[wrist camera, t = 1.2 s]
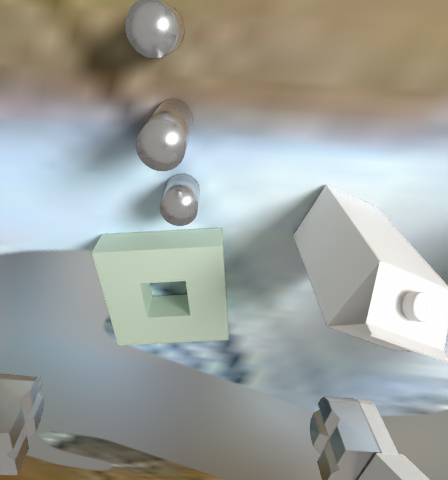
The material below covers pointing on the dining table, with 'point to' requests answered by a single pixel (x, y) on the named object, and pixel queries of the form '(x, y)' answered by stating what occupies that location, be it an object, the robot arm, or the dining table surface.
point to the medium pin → (154, 28)
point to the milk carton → (371, 277)
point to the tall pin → (165, 135)
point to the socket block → (164, 270)
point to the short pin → (180, 200)
